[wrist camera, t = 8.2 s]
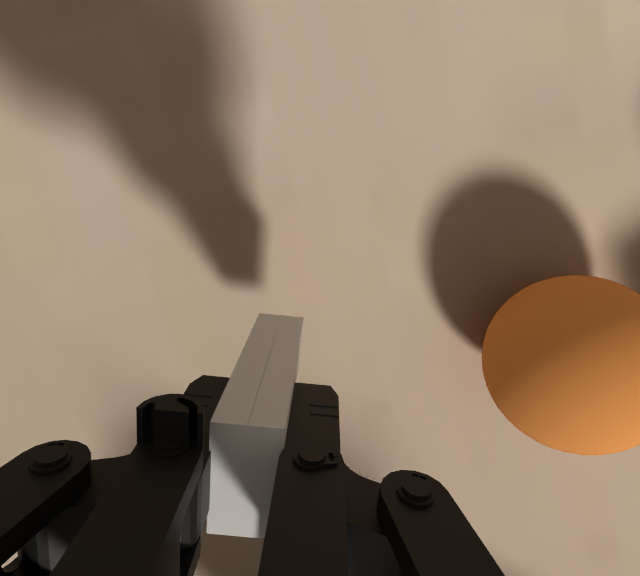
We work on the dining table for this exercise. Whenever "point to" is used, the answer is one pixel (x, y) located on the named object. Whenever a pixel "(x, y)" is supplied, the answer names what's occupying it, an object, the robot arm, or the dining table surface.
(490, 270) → the dining table surface
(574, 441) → the ball
